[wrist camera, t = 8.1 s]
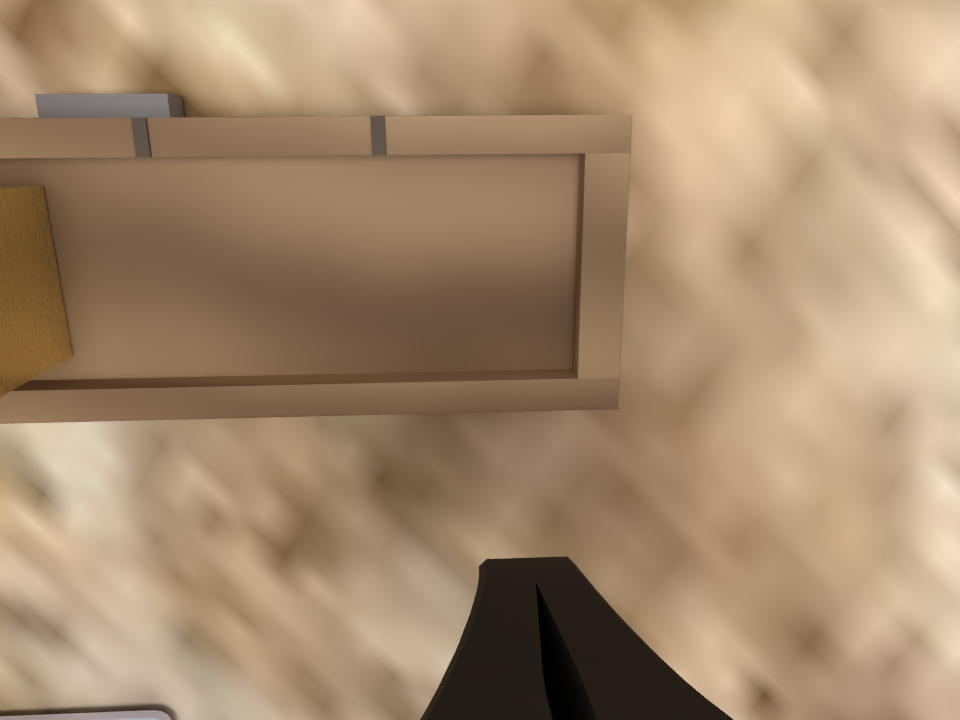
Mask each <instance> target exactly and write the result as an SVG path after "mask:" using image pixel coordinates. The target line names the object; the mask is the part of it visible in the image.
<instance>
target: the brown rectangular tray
mask: <svg viewBox="0 0 960 720" xmlns="http://www.w3.org/2000/svg"><path fill="white" fill-rule="evenodd" d="M35 97H36V103H37V109H38V115H39V118H18V119H0V186H40V185H43V188H44V194H45V199H46V205H47V211H48V217H49V222H50V228H51V234H52V239H53V245H54V251H55V256H56V262H57V268H58V274H59V279H60V285H61V291H62V296H63V302H64V308H65V313H66V319H67V325H68V331H69V336H70V342H71V348H72V353H73V357H71V358H69V359H67V360H66V361H64V362H62V363H60V364H58V365H57V366H55V367H53V368H51V369H49V370H48V371H46V372H44V373H42V374H41V375H39V376H37V377H35V378H33V379H32V380H30V381H28V382H26V383H25V384H23V385H21V386H19V387H17V388H16V389H14V390H12V391H10V392H8V393H7V394H5V395H3V396H1V397H0V424H7V423H49V422H91V421H133V420H175V419H217V418H259V417H301V416H343V415H385V414H427V413H468V412H510V411H552V410H594V409H618V392H619V372H620V351H621V331H622V311H623V291H624V271H625V250H626V230H627V210H628V190H629V170H630V149H631V129H632V115H498V116H338V117H185V115H184V107H183V98H182V96H177V95H172V94H35Z"/></svg>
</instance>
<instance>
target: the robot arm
mask: <svg viewBox="0 0 960 720" xmlns="http://www.w3.org/2000/svg"><path fill="white" fill-rule="evenodd" d="M0 720H171V718H170V717H169V716H168V715H167V714H166V713H164V712H162V711H157V710H144V711H120V712H95V713H71V714H46V715H22V716H0ZM420 720H733V719H732V718H731V717H729V716H728V715H727V714H725V713H724V712H723V711H722V710H720V709H719V708H718V707H716V706H715V705H714V704H713V703H711V702H710V701H709V700H707V699H706V698H705V697H704V696H702V695H701V694H700V693H699V692H698V691H696V690H695V689H694V688H693V687H692V686H690V685H689V684H688V683H687V682H686V681H685V680H684V679H682V678H681V677H680V676H679V675H678V674H677V673H676V672H675V671H674V670H673V669H672V668H671V667H669V666H668V665H667V664H666V663H665V662H664V661H663V660H662V659H661V658H660V657H659V656H658V655H657V654H656V653H655V652H654V651H653V650H652V649H651V648H650V647H649V646H648V645H647V644H646V643H645V642H644V641H643V640H642V639H641V638H640V637H639V636H638V635H637V634H636V633H635V632H634V631H633V630H632V629H631V628H630V627H629V626H628V625H627V623H626V622H625V621H624V620H623V619H622V618H621V617H620V616H619V615H618V614H617V613H616V612H615V611H614V609H613V608H612V607H611V606H610V605H609V604H608V603H607V601H606V600H605V599H604V598H603V597H602V596H601V595H600V593H599V592H598V591H597V590H596V589H595V588H594V586H593V585H592V584H591V583H590V582H589V580H588V579H587V578H586V577H585V576H584V574H583V573H582V572H581V571H580V570H579V568H578V567H577V566H576V565H575V563H574V562H573V561H571V560H570V559H569V558H568V557H541V558H510V559H486V560H485V561H484V562H483V563H482V564H481V565H480V566H479V582H478V587H477V592H476V596H475V599H474V603H473V606H472V610H471V613H470V616H469V618H468V621H467V623H466V626H465V629H464V631H463V634H462V637H461V639H460V642H459V645H458V647H457V649H456V652H455V654H454V656H453V658H452V660H451V662H450V664H449V666H448V668H447V670H446V672H445V675H444V677H443V679H442V681H441V683H440V685H439V687H438V689H437V691H436V693H435V695H434V696H433V698H432V700H431V702H430V704H429V706H428V707H427V709H426V711H425V712H424V714H423V716H422V718H421V719H420Z"/></svg>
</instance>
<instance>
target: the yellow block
mask: <svg viewBox="0 0 960 720" xmlns="http://www.w3.org/2000/svg"><path fill="white" fill-rule="evenodd" d="M71 357H73V353H72V348H71V342H70V336H69V331H68V325H67V319H66V313H65V308H64V302H63V296H62V291H61V285H60V279H59V274H58V268H57V262H56V256H55V251H54V245H53V239H52V234H51V228H50V222H49V217H48V211H47V205H46V199H45V194H44V188H43V185H40V186H0V397H1V396H3V395H5V394H7V393H8V392H10V391H12V390H14V389H16V388H17V387H19V386H21V385H23V384H25V383H26V382H28V381H30V380H32V379H33V378H35V377H37V376H39V375H41V374H42V373H44V372H46V371H48V370H49V369H51V368H53V367H55V366H57V365H58V364H60V363H62V362H64V361H66V360H67V359H69V358H71Z"/></svg>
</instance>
